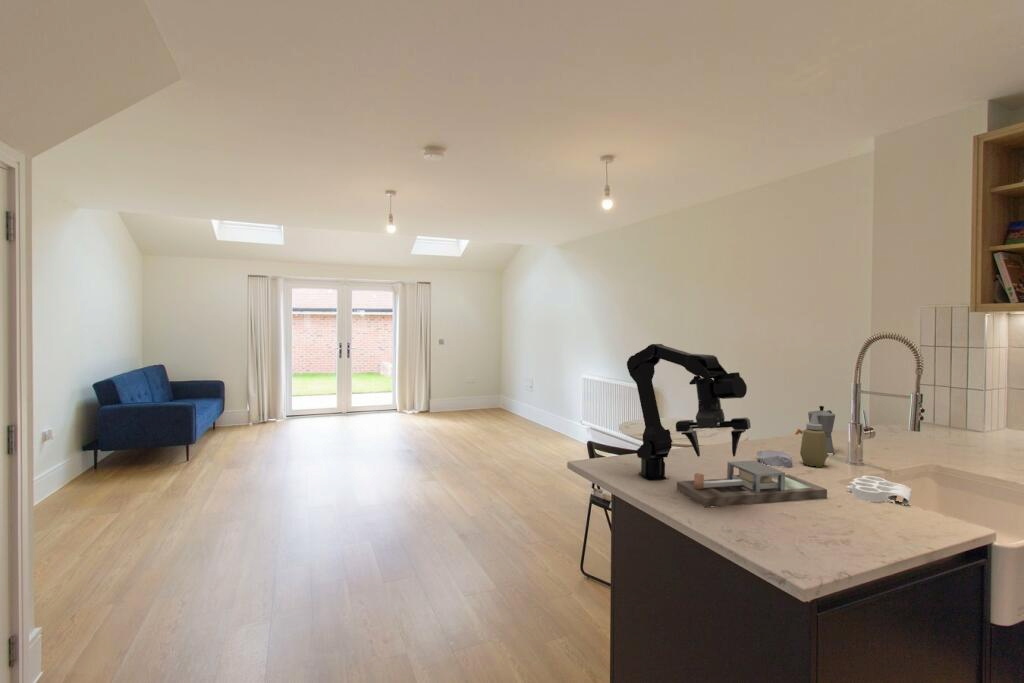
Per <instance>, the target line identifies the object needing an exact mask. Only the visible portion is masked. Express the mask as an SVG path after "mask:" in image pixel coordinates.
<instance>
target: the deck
mask: <svg viewBox="0 0 1024 683" xmlns="http://www.w3.org/2000/svg"><path fill="white" fill-rule="evenodd" d="M719 480H728V479H727V478H726V477H724V478H715V479H712V478H711V479H709V478H708V479H704V481H719ZM772 480H774V481H776V482H778V475H775V476H772ZM694 482H695V479H694V480H680V481H679V480H678V481H676V491H678V492H679V491H680V492H679V493H681V494H682V493H683V495H684V494H685V495H684V496H686V497H687V496H688V497H687V498H689V497H690V498H691V499H690V498H689V499H690V500H692V499H693V500H692V501H693V502H695V501H696V502H695V503H697V502H698V503H697V504H699V505H700V504H701V505H700V506H701V507H703V506H704V508H712V507H711V506H718V507H727V505H731V506H740V505H741V506H742V505H743V504H744V505H755V504H757V505H758V504H770V503H781V502H783V503H784V502H795V501H796V502H797V501H807V500H808V501H809V500H821V499H824V500H825V499H828V489H827V488H824V487H821V486H819V485H817V484H814V483H812V482H809V481H807V480H804V479H801V478H798V477H796V476H794V475H791V474H785V491H782V492H781V491H779V490H778V488H770V489H760V493H754V492H753V490H752V489H749V488H747V487H745V486H743V485H738V486H723V487H708V488H704V489H696V488H695V487H694Z"/></svg>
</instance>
